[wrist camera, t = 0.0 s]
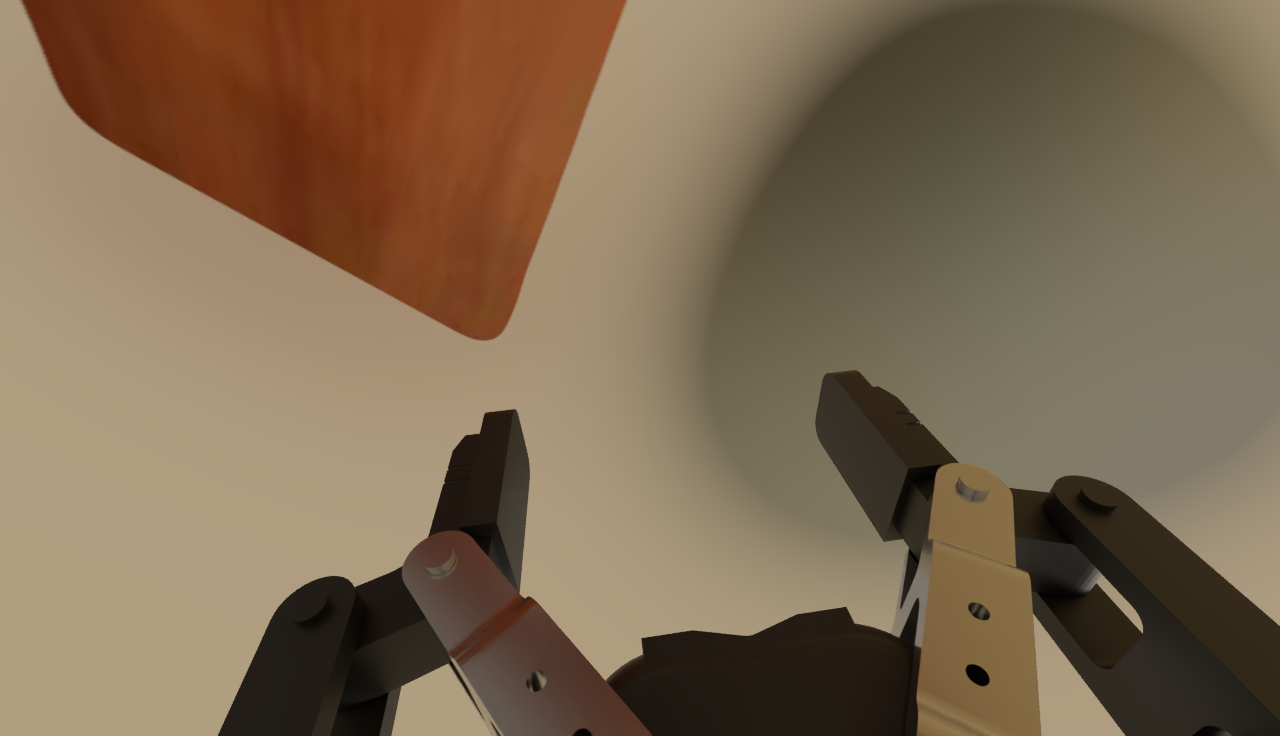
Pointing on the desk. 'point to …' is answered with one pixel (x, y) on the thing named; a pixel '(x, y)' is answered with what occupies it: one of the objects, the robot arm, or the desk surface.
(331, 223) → the desk surface
